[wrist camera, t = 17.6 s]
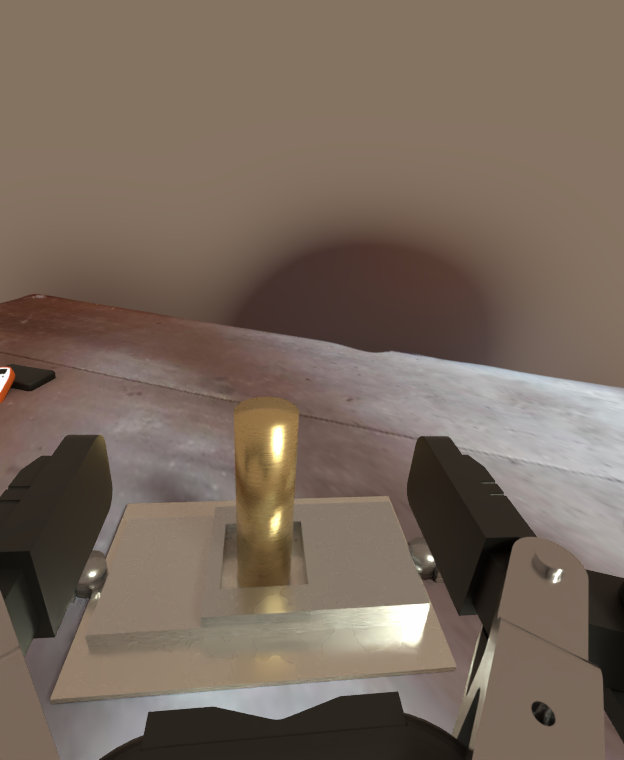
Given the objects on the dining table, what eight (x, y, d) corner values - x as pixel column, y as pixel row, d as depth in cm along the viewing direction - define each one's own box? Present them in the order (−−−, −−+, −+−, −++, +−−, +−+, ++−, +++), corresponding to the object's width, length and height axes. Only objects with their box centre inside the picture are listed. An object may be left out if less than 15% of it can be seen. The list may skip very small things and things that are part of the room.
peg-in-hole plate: (-62, 713, 24) (-76, 686, 23) (59, 509, 38) (54, 487, 37) (540, 663, 28) (551, 639, 27) (445, 497, 42) (449, 478, 41)
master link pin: (226, 582, 32) (220, 417, 26) (254, 544, 35) (255, 391, 29) (274, 603, 30) (280, 435, 24) (299, 562, 34) (309, 405, 28)
